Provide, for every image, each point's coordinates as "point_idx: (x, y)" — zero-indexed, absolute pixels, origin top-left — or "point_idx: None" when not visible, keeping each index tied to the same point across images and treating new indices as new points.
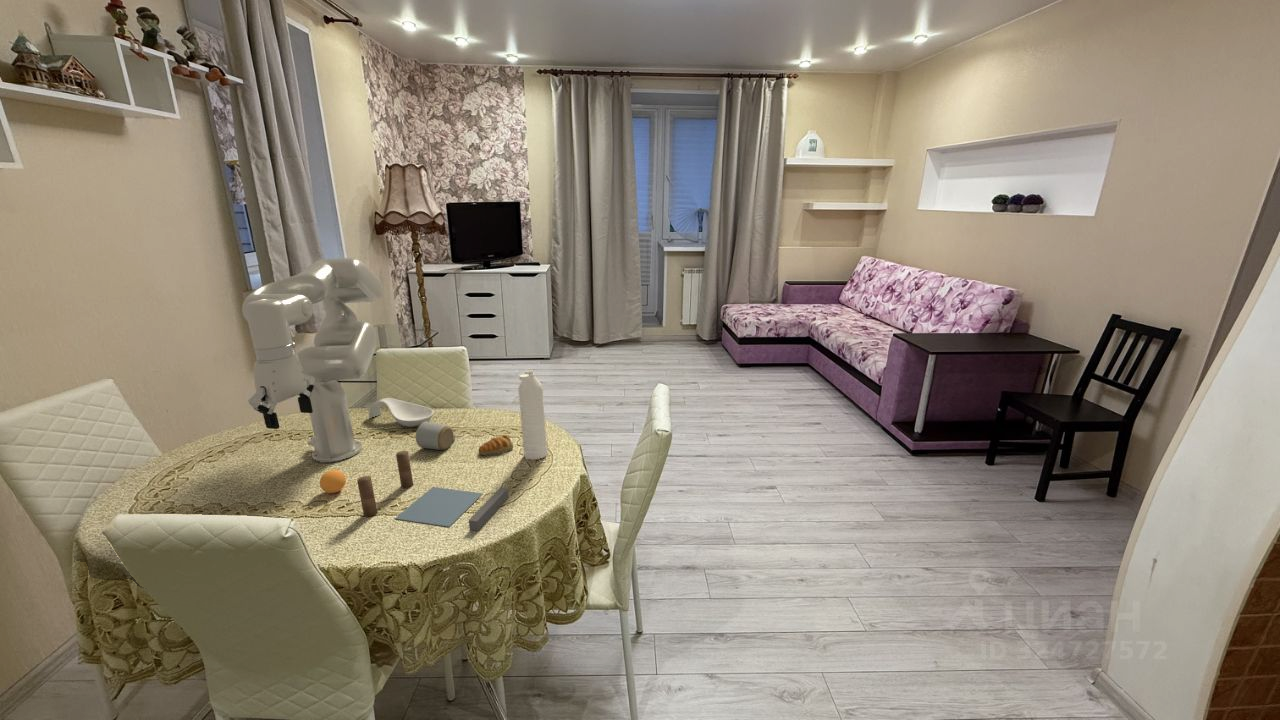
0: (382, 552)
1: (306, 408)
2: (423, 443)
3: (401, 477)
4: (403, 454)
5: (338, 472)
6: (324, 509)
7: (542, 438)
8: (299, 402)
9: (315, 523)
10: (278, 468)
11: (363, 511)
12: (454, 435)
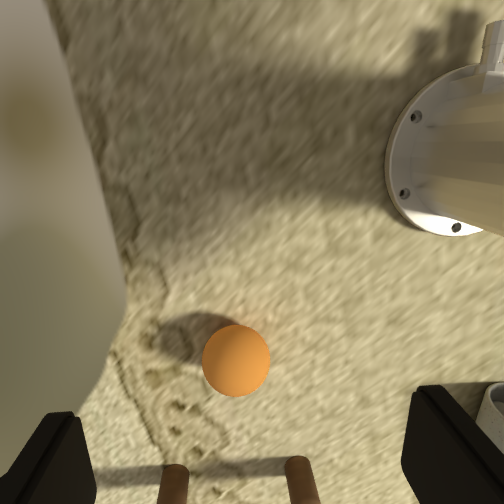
0: None
1: (428, 482)
2: (483, 424)
3: (290, 494)
4: None
5: (246, 393)
6: (157, 378)
7: None
8: (484, 496)
9: (104, 404)
10: (328, 20)
11: (160, 483)
12: None
